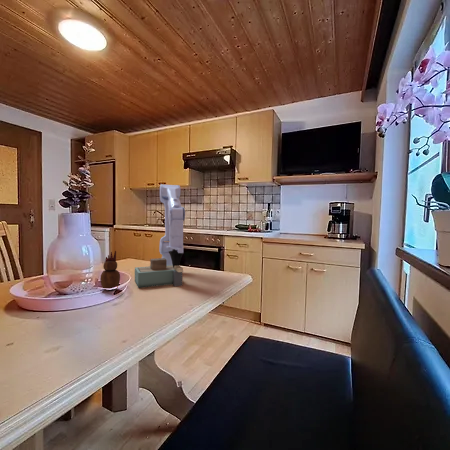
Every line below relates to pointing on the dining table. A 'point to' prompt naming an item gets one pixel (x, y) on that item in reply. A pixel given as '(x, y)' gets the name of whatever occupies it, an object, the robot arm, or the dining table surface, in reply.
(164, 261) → the lid
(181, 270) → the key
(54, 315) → the dining table surface
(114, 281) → the wooden figurine
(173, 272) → the green rectangular open box
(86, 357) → the dining table surface
